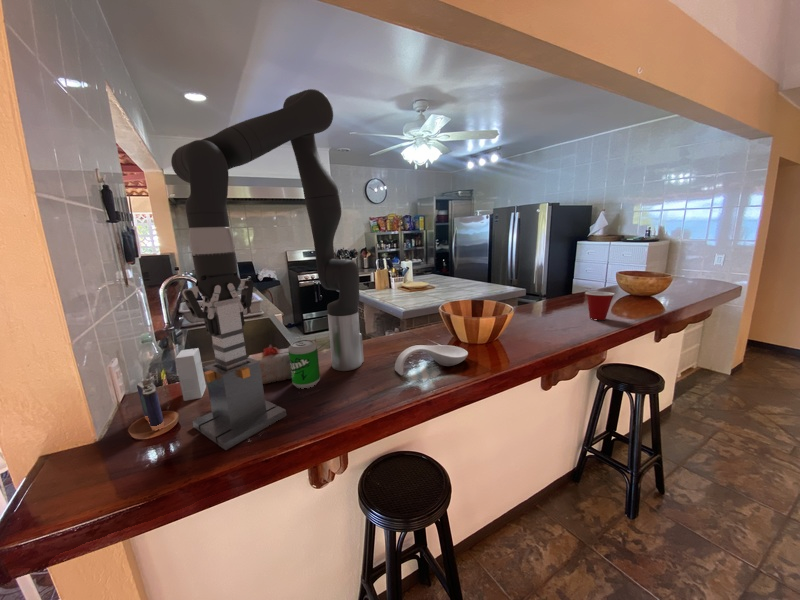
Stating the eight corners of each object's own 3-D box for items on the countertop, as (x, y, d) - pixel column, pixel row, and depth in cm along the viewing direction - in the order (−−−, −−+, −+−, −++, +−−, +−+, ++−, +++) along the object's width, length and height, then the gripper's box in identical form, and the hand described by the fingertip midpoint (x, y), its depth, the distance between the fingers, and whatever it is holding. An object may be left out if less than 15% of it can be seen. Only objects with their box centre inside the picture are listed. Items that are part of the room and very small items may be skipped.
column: (244, 396, 75) (228, 295, 70) (255, 402, 72) (240, 297, 67) (221, 406, 71) (203, 300, 65) (232, 413, 68) (214, 302, 63)
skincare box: (188, 391, 87) (180, 349, 85) (206, 387, 89) (199, 347, 86) (182, 401, 82) (174, 358, 79) (201, 398, 83) (193, 355, 81)
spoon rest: (453, 352, 109) (453, 332, 107) (475, 365, 98) (475, 343, 97) (389, 367, 99) (388, 345, 97) (406, 382, 89) (405, 358, 87)
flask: (143, 417, 75) (133, 375, 73) (158, 412, 77) (149, 371, 75) (152, 433, 69) (142, 388, 67) (168, 427, 71) (159, 383, 69)
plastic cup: (604, 315, 144) (607, 289, 142) (617, 322, 134) (620, 294, 131) (578, 315, 146) (581, 289, 143) (589, 322, 136) (592, 294, 133)
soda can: (310, 375, 95) (306, 336, 92) (325, 382, 90) (322, 341, 87) (287, 385, 89) (282, 344, 86) (302, 393, 84) (298, 350, 82)
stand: (253, 399, 82) (245, 347, 79) (286, 415, 74) (279, 359, 71) (193, 427, 71) (182, 368, 68) (225, 450, 63) (214, 385, 60)
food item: (248, 390, 87) (243, 356, 85) (249, 378, 94) (244, 347, 92) (300, 379, 92) (297, 347, 90) (297, 369, 99) (293, 339, 97)
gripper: (238, 248, 72) (249, 321, 75) (164, 253, 60) (181, 339, 64) (257, 248, 67) (267, 325, 71) (181, 254, 56) (198, 345, 60)
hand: (226, 331), depth 68 cm, fingers closed on column, 4 cm apart
